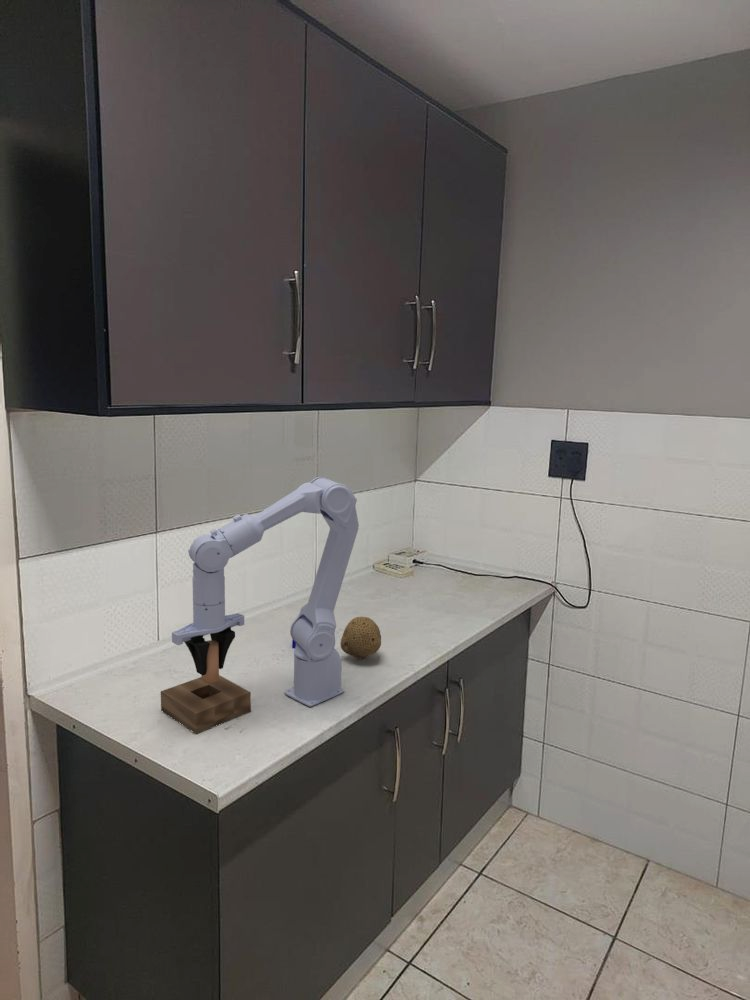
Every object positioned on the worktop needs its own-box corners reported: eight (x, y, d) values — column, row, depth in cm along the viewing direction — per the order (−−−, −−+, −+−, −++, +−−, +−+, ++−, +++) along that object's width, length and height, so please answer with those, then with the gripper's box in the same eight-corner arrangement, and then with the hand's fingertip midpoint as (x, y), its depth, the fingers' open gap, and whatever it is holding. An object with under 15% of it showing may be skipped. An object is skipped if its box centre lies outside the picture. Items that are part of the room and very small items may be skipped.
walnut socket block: (214, 690, 139) (214, 672, 138) (250, 711, 131) (250, 692, 130) (161, 710, 130) (160, 691, 130) (196, 734, 123) (196, 713, 122)
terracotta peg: (212, 673, 131) (212, 639, 129) (222, 679, 128) (222, 643, 127) (197, 678, 128) (197, 643, 127) (207, 684, 126) (207, 648, 125)
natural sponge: (389, 661, 156) (391, 619, 154) (359, 671, 150) (361, 628, 148) (364, 648, 163) (365, 608, 161) (334, 657, 157) (335, 616, 155)
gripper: (228, 587, 133) (229, 653, 136) (161, 604, 123) (163, 675, 125) (251, 596, 129) (251, 663, 131) (183, 614, 118) (185, 687, 121)
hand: (210, 670), depth 128 cm, fingers closed on terracotta peg, 3 cm apart
